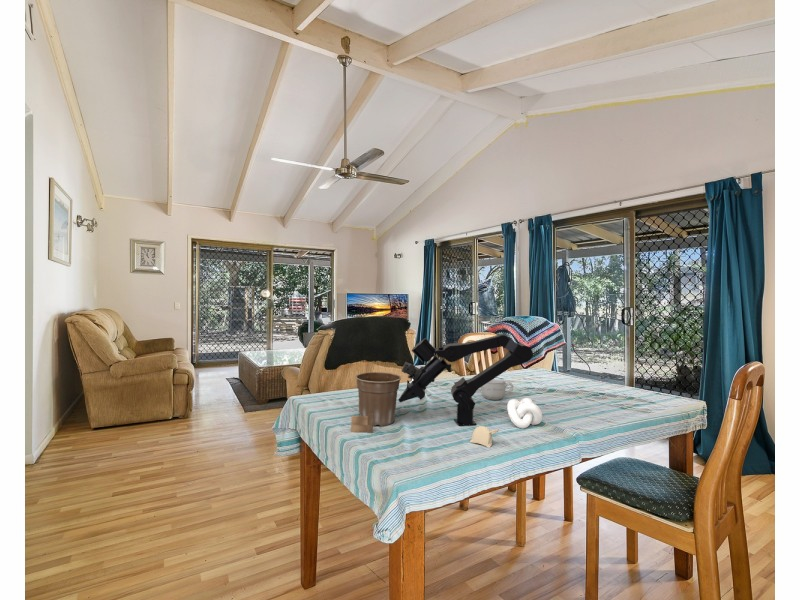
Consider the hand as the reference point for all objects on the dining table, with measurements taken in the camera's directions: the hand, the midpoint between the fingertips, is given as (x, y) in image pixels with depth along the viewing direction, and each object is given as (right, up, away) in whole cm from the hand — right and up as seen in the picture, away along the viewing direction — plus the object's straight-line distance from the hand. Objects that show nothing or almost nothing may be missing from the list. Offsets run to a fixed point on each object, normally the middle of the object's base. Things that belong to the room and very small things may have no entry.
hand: (399, 401), depth 146 cm
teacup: (+43, -8, +34) cm, 55 cm away
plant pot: (-8, -7, 0) cm, 11 cm away
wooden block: (-12, -7, 0) cm, 14 cm away
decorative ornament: (+26, -9, -20) cm, 34 cm away
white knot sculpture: (+44, -8, -1) cm, 45 cm away
